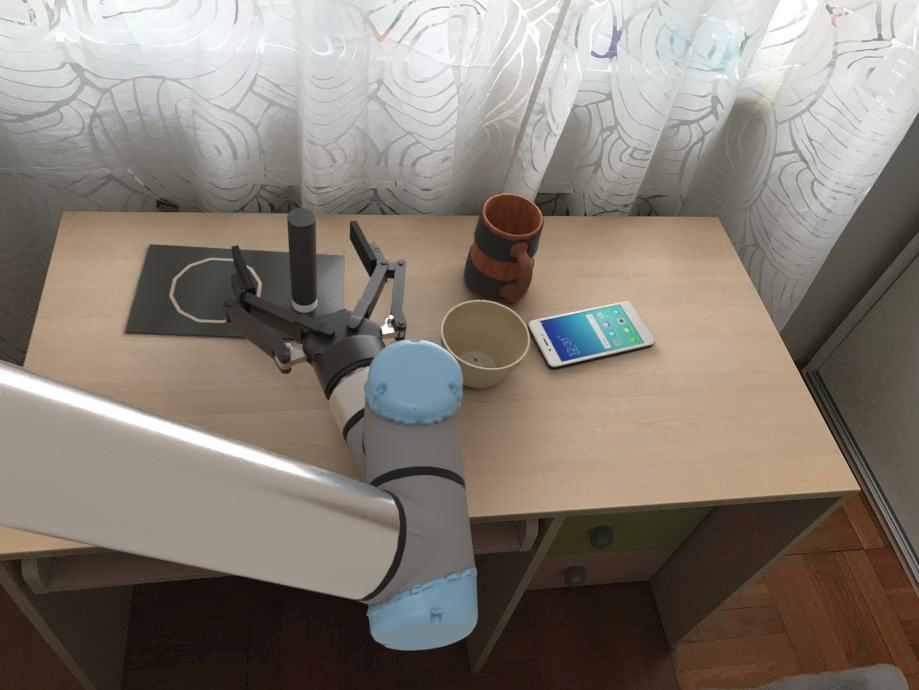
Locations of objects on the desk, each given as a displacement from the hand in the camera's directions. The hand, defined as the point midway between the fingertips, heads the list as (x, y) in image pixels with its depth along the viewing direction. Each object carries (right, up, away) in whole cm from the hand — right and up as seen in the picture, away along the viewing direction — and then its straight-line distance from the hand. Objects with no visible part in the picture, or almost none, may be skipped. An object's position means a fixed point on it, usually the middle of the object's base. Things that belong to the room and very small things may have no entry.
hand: (295, 241), depth 84 cm
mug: (+24, -5, +12) cm, 27 cm away
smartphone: (+35, -11, +9) cm, 38 cm away
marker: (0, -7, +6) cm, 9 cm away
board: (-8, -5, +6) cm, 11 cm away
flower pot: (+21, -15, +4) cm, 26 cm away
